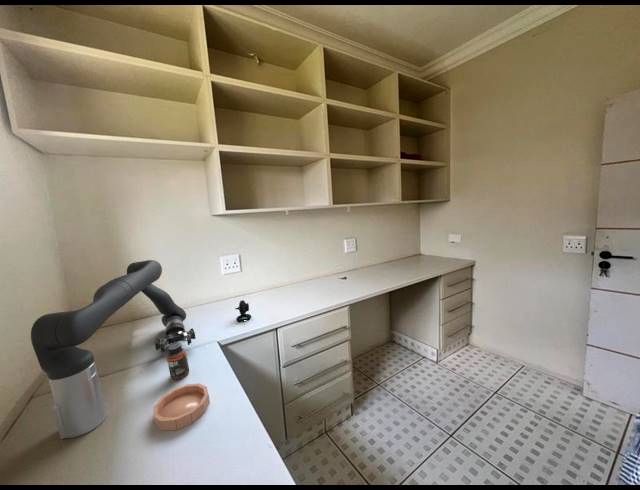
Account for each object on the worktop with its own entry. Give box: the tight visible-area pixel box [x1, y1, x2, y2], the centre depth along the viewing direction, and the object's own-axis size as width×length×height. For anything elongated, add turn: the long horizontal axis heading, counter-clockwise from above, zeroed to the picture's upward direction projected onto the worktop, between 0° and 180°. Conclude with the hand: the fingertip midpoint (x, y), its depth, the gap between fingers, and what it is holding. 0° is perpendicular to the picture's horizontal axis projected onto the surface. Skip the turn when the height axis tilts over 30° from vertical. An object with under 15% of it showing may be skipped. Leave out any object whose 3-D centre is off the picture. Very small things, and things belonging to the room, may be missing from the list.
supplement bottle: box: [166, 342, 190, 381], centre depth 91 cm, size 6×6×11 cm
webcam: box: [235, 299, 252, 322], centre depth 133 cm, size 8×8×10 cm
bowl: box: [152, 382, 211, 432], centre depth 75 cm, size 14×14×3 cm
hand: (176, 346), depth 100 cm, fingers open, 8 cm apart
